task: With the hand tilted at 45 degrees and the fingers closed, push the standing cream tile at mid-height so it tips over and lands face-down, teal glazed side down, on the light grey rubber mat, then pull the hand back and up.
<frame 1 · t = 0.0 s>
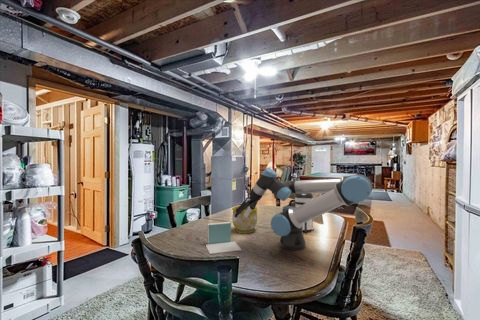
hand: (239, 218, 150), 15 cm above the table, tool tilted 35°, fingers open, 13 cm apart
mat: (222, 247, 143), on the table
flowerpot: (244, 231, 176), on the table
coffee press: (301, 230, 177), on the table
tile: (219, 242, 152), on the table
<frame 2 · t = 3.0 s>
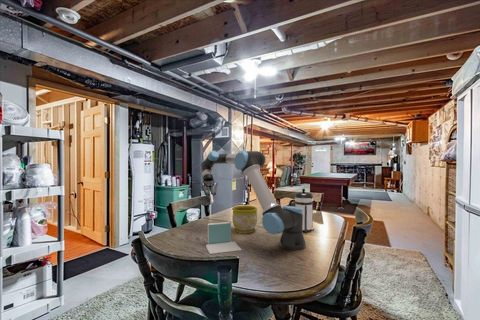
hand: (212, 203, 169), 21 cm above the table, tool tilted 45°, fingers closed
nothing on the table moved.
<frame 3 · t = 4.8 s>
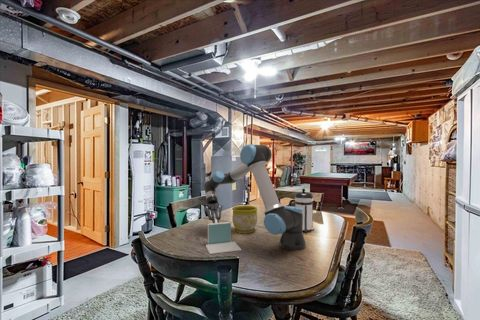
hand: (217, 229, 158), 7 cm above the table, tool tilted 45°, fingers closed
nothing on the table moved.
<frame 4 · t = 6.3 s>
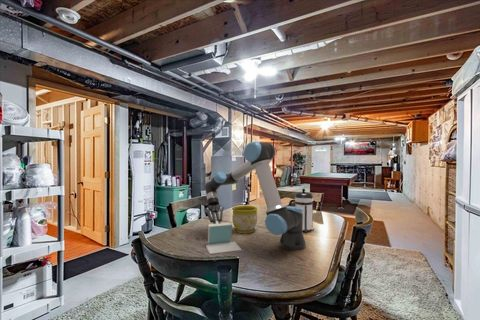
hand: (218, 231, 152), 7 cm above the table, tool tilted 45°, fingers closed
tile: (219, 242, 152), on the table, tilted 13°
everything else where it was.
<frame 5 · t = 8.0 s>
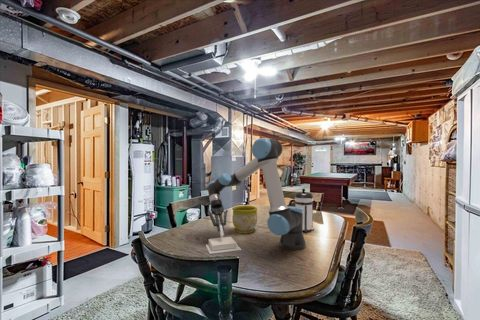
hand: (222, 235, 144), 7 cm above the table, tool tilted 45°, fingers closed
tile: (219, 239, 151), point 2 cm above the table, tilted 90°, touching mat
everything else where it was.
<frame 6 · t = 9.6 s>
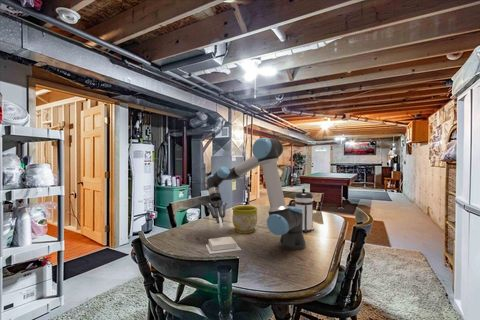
hand: (221, 227, 146), 11 cm above the table, tool tilted 45°, fingers closed
nothing on the table moved.
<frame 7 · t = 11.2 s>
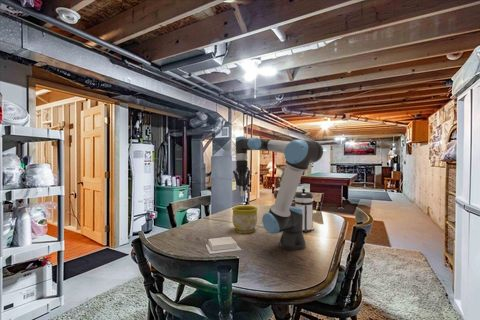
hand: (242, 196, 161), 27 cm above the table, tool pointing down, fingers closed
nothing on the table moved.
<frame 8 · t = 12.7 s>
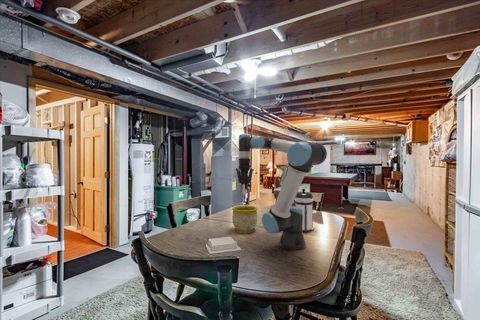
hand: (244, 193, 162), 28 cm above the table, tool pointing down, fingers closed
nothing on the table moved.
at the end: tile tilted 90°; tile touching mat; tile moved 2.4 cm from its start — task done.
